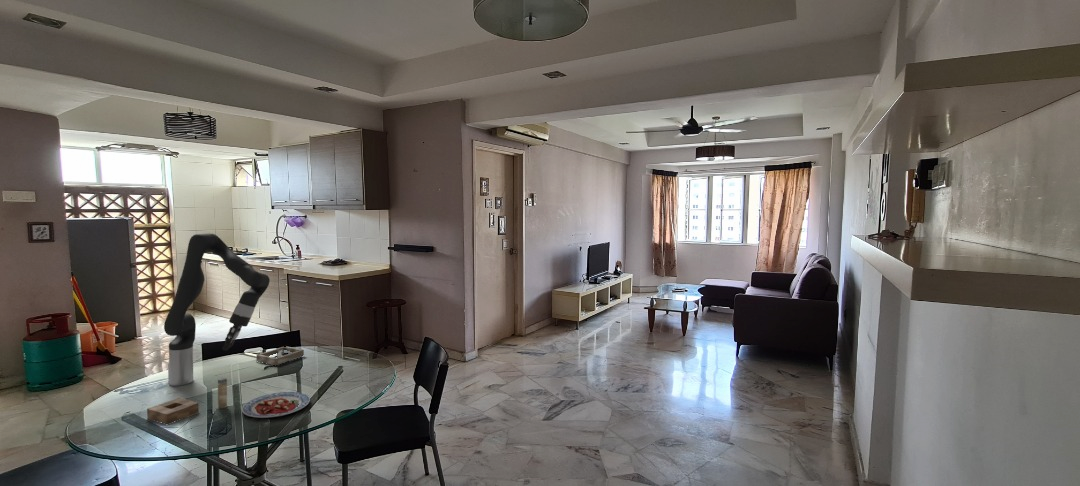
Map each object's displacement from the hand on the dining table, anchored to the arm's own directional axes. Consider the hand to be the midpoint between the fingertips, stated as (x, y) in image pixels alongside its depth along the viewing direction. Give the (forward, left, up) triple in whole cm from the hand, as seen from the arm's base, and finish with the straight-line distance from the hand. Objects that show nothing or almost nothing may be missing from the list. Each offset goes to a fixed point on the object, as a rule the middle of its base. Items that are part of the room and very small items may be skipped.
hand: (226, 348), depth 208 cm
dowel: (+8, -7, -23) cm, 25 cm away
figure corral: (-22, +48, -23) cm, 57 cm away
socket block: (-1, -21, -23) cm, 31 cm away
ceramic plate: (+29, +2, -23) cm, 37 cm away
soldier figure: (-23, +47, -23) cm, 57 cm away
